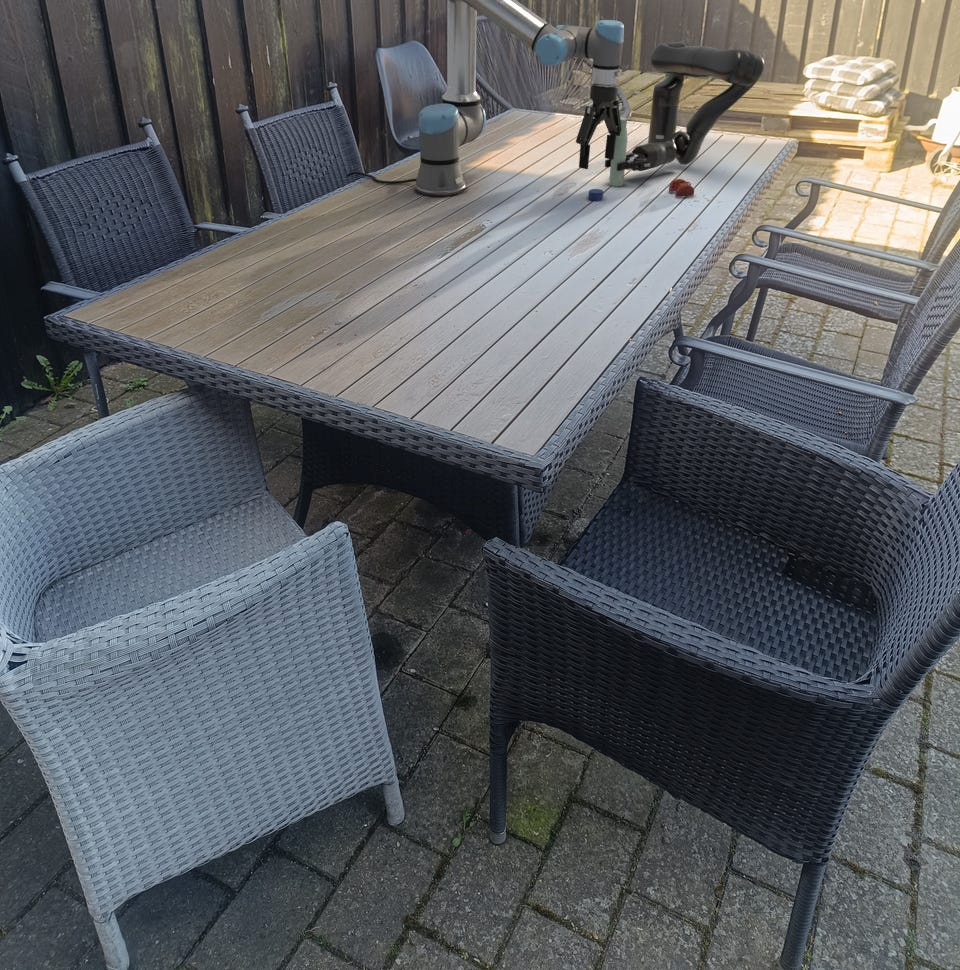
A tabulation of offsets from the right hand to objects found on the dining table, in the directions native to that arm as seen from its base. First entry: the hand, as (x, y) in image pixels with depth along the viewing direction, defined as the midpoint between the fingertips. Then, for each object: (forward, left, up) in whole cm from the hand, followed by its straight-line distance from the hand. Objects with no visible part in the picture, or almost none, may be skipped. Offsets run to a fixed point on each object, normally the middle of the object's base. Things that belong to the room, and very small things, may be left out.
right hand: (611, 165), depth 258 cm
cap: (+14, 0, -4) cm, 15 cm away
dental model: (-1, +22, -6) cm, 23 cm away
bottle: (-3, +1, -6) cm, 7 cm away
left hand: (+14, 0, +4) cm, 15 cm away
